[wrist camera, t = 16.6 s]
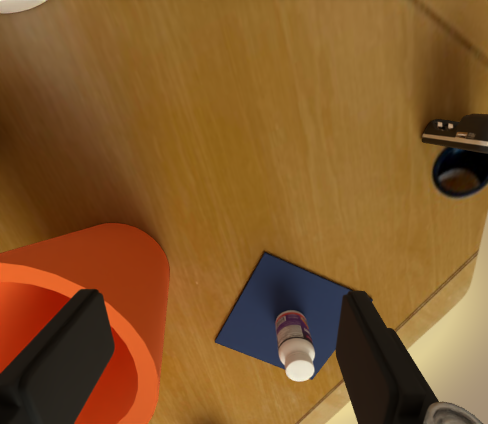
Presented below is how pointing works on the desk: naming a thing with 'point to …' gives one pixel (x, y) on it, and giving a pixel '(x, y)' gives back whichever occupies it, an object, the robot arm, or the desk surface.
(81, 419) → the flowerpot
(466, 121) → the battery charger
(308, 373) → the pill bottle
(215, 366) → the desk surface
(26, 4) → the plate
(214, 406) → the desk surface
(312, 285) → the mat
